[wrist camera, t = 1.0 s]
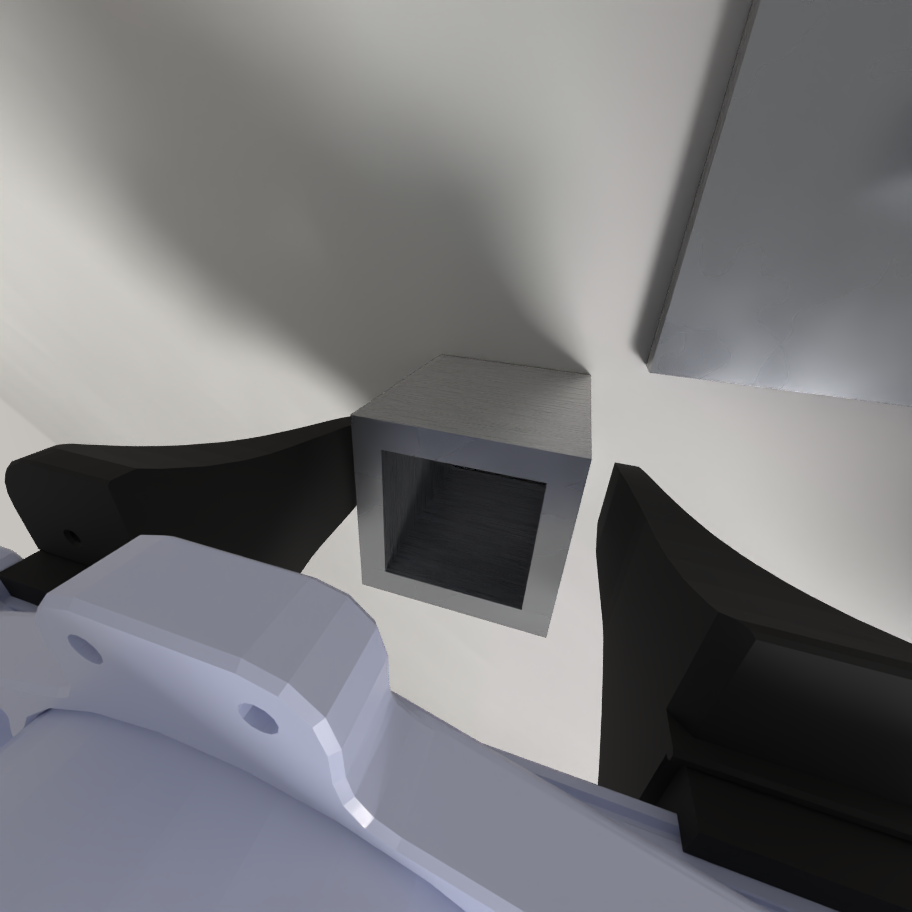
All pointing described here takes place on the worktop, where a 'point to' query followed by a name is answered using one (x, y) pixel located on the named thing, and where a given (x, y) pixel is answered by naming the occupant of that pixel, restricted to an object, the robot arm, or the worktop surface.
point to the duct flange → (804, 211)
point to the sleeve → (473, 486)
